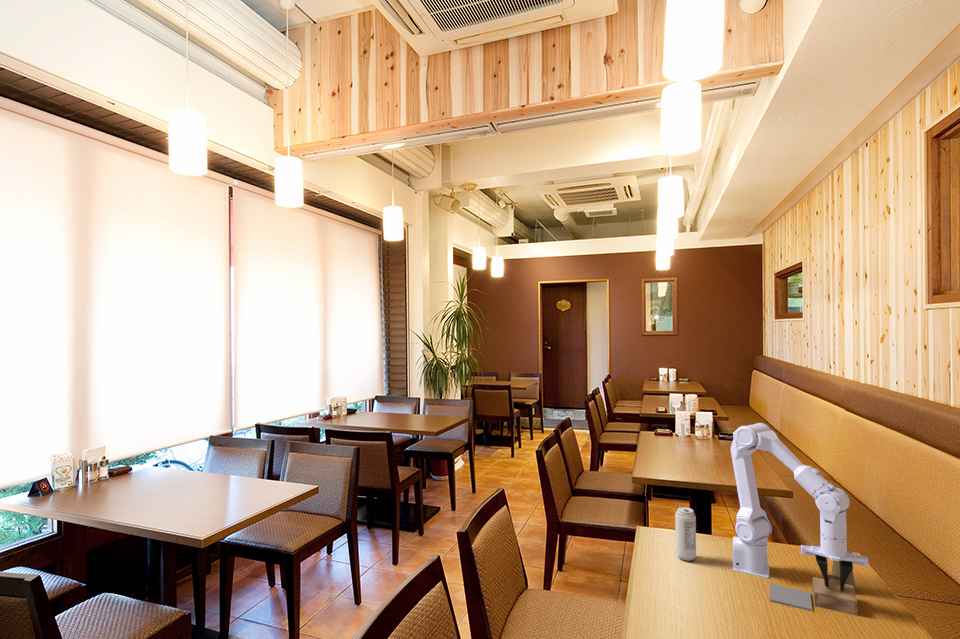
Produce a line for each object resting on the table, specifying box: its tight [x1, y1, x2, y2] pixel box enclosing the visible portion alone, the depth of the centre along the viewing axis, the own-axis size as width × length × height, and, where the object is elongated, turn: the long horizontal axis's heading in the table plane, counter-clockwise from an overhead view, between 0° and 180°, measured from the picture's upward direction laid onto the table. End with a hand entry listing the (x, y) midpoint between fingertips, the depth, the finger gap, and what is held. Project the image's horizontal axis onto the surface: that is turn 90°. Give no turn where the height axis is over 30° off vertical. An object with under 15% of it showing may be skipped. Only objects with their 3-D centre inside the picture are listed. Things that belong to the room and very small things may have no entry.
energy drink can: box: [674, 506, 697, 562], centre depth 158 cm, size 6×6×15 cm
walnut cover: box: [812, 573, 859, 617], centre depth 131 cm, size 9×9×7 cm
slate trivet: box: [769, 582, 813, 612], centre depth 134 cm, size 10×10×1 cm
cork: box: [830, 548, 857, 594], centre depth 138 cm, size 6×6×11 cm
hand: (833, 586), depth 131 cm, fingers open, 3 cm apart
